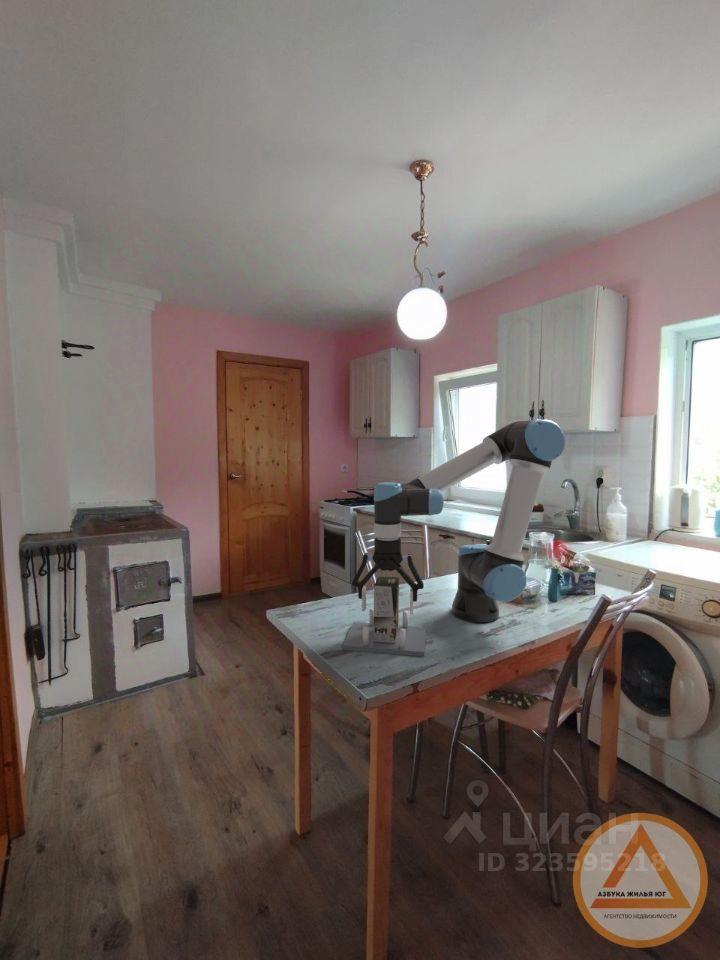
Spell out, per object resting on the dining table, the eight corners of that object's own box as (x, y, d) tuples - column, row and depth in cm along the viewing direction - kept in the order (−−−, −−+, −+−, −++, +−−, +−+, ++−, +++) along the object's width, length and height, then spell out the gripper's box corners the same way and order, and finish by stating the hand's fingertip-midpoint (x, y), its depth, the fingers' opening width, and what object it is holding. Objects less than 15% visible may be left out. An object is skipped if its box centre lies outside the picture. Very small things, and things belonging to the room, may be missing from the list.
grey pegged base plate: (425, 631, 133) (425, 611, 132) (424, 656, 117) (424, 633, 117) (353, 625, 136) (353, 606, 136) (343, 649, 121) (343, 627, 120)
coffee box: (395, 644, 122) (396, 586, 120) (372, 641, 123) (373, 585, 121) (399, 630, 131) (399, 576, 129) (377, 628, 132) (378, 575, 130)
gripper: (432, 535, 126) (431, 608, 128) (346, 533, 130) (347, 603, 132) (432, 541, 119) (431, 618, 120) (341, 539, 123) (342, 613, 124)
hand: (387, 610), depth 126 cm, fingers open, 13 cm apart
